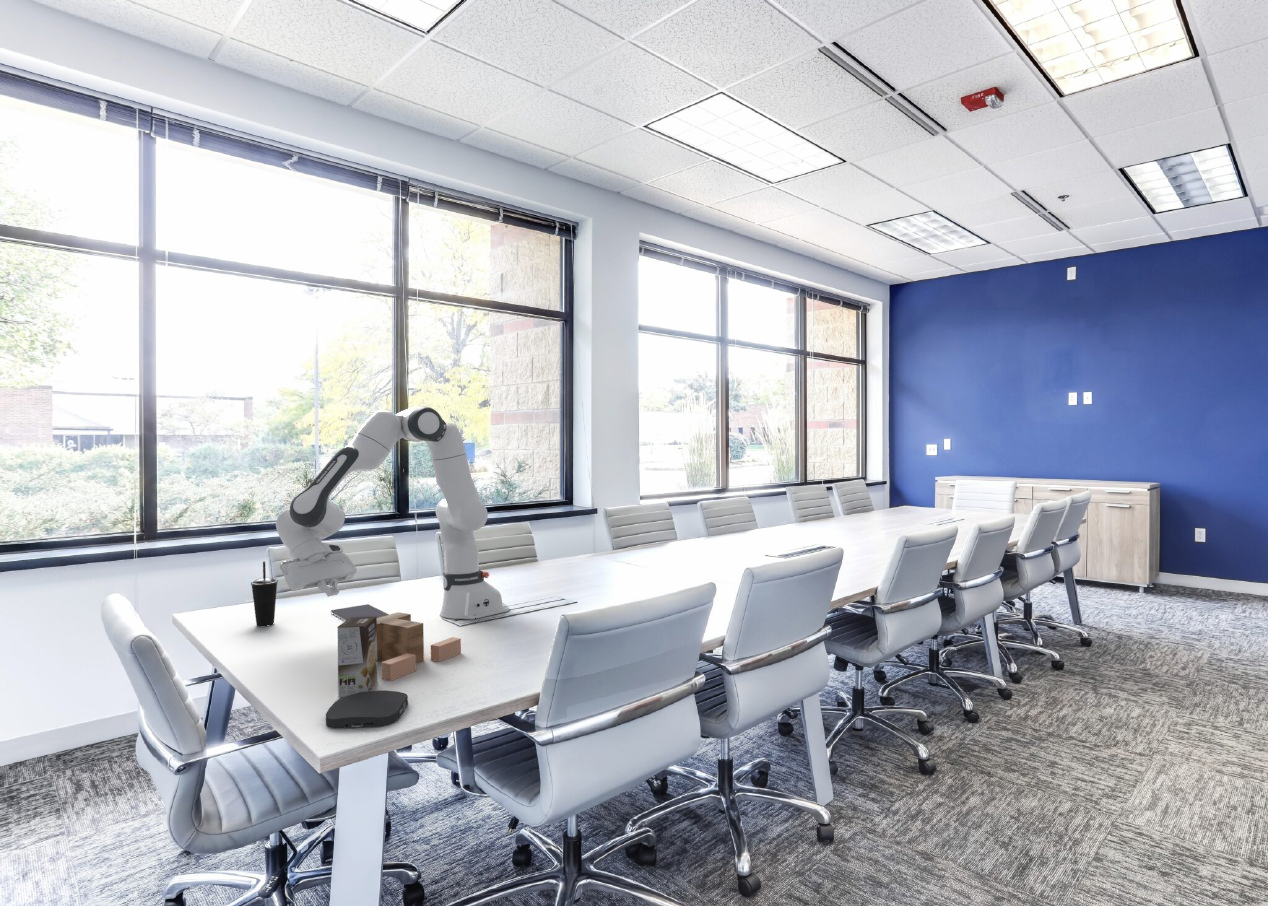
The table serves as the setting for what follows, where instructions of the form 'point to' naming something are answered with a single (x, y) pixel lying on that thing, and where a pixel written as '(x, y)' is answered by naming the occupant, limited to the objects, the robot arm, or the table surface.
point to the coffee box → (357, 655)
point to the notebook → (358, 612)
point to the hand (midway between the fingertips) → (334, 594)
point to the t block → (399, 637)
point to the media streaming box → (367, 709)
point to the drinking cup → (264, 599)
